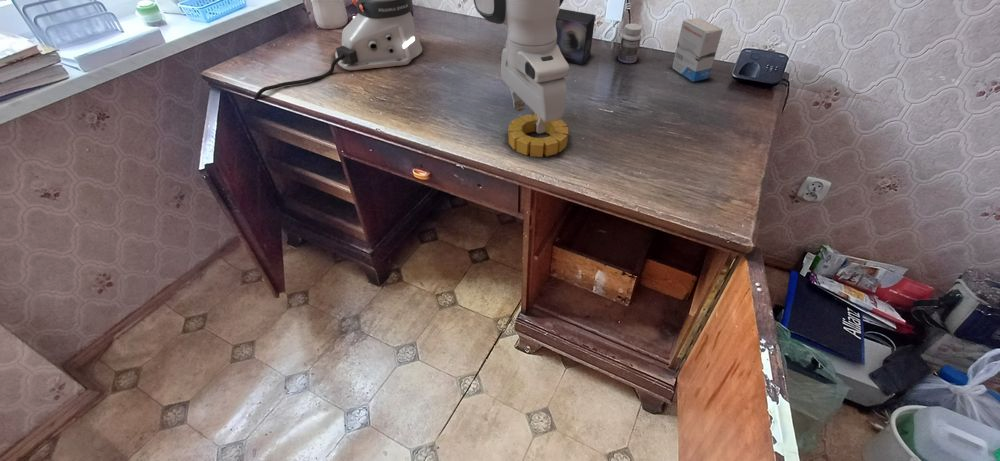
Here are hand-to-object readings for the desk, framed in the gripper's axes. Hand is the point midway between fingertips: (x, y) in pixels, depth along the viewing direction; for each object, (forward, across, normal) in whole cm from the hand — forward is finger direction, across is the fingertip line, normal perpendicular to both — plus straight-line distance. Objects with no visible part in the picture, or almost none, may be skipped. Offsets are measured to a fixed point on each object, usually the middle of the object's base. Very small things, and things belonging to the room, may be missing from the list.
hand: (528, 120), depth 94 cm
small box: (+2, -28, +25) cm, 38 cm away
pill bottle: (+2, -20, +38) cm, 43 cm away
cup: (+2, -78, -26) cm, 82 cm away
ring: (+2, +4, 0) cm, 5 cm away
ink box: (+2, -7, +47) cm, 48 cm away
